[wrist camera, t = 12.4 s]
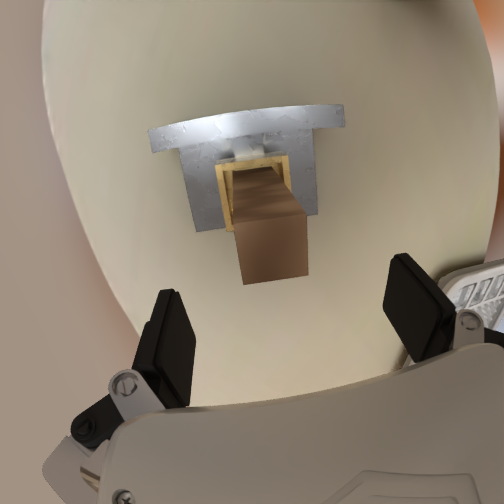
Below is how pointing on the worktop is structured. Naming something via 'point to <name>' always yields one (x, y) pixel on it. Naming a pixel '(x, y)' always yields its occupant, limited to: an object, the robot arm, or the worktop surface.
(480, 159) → the worktop surface
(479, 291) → the dish rack
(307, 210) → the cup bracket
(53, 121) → the worktop surface
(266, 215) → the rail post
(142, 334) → the robot arm
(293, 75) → the worktop surface
